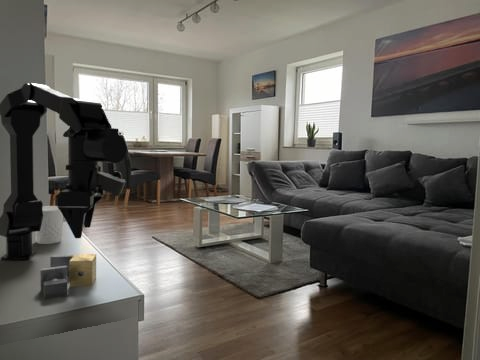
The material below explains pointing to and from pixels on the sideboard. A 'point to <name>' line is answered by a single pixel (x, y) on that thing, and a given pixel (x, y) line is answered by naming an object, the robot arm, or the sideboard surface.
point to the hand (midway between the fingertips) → (83, 232)
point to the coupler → (82, 270)
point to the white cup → (50, 226)
